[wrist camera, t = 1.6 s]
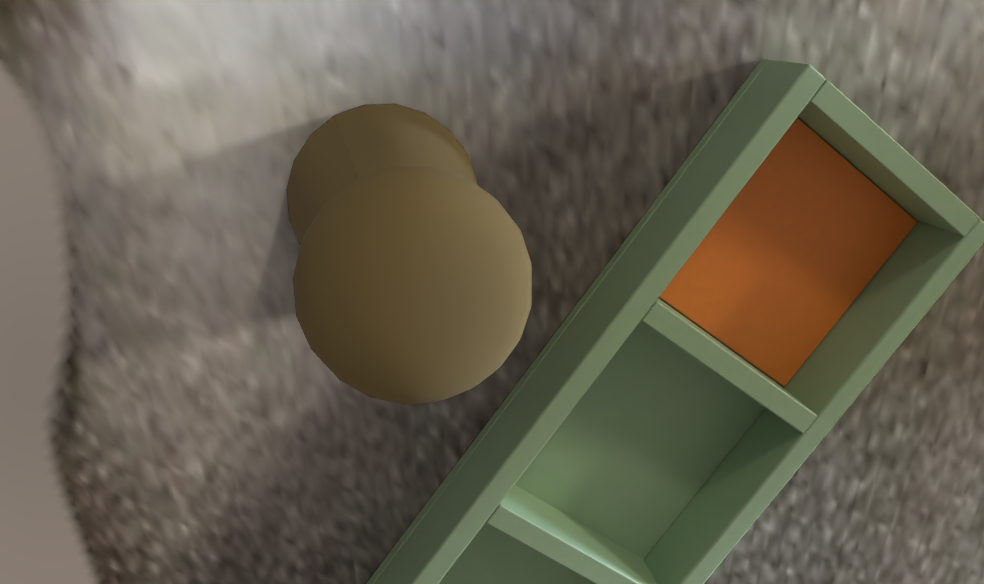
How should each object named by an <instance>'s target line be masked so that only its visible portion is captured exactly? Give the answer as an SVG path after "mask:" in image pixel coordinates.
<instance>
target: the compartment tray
mask: <svg viewBox="0 0 984 584" xmlns="http://www.w3.org/2000/svg"><path fill="white" fill-rule="evenodd" d="M983 244H984V221H983V220H981V219H980V218H979V216H978V215H977V214H975V213H974V212H973V211H972V210H971V209H970V208H969V207H968V206H967V205H965V204H964V203H963V202H962V201H961V200H960V199H959V198H958V197H957V196H956V195H954V194H953V193H952V192H951V191H950V190H949V189H948V188H947V187H946V186H944V185H943V184H942V183H941V182H940V181H939V180H938V179H937V178H936V177H934V176H933V175H932V174H931V173H930V172H929V171H928V170H927V169H926V168H925V167H923V166H922V165H921V164H920V163H919V162H918V161H917V160H916V159H915V158H913V157H912V156H911V155H910V154H909V153H908V152H907V151H906V150H905V149H904V148H902V147H901V146H900V145H899V144H898V143H897V142H896V141H895V140H894V139H892V138H891V137H890V136H889V135H888V134H887V133H886V132H885V131H884V130H882V129H881V128H880V127H879V126H878V125H877V124H876V123H875V122H874V121H873V120H871V119H870V118H869V117H868V116H867V115H866V114H865V113H864V112H863V111H861V110H860V109H859V108H858V107H857V106H856V105H855V104H854V103H853V102H851V101H850V100H849V99H848V98H847V97H846V96H845V95H844V94H843V93H842V92H840V91H839V90H838V89H837V88H836V87H835V86H834V85H833V84H832V83H830V82H829V81H828V80H825V78H824V77H823V76H822V75H821V74H820V73H819V72H818V71H817V70H816V69H814V68H813V67H812V66H811V65H810V64H803V63H795V62H786V61H777V60H769V59H761V61H760V62H759V63H758V65H757V66H756V67H755V69H754V70H753V71H752V73H751V74H750V75H749V77H748V78H747V79H746V81H745V82H744V83H743V85H742V86H741V87H740V89H739V90H738V91H737V93H736V94H735V95H734V97H733V98H732V99H731V101H730V102H729V103H728V105H727V106H726V107H725V108H724V110H723V111H722V112H721V114H720V115H719V116H718V118H717V119H716V120H715V122H714V123H713V124H712V126H711V127H710V128H709V130H708V131H707V132H706V134H705V135H704V136H703V138H702V139H701V140H700V142H699V143H698V144H697V146H696V147H695V148H694V150H693V151H692V152H691V154H690V155H689V156H688V158H687V159H686V160H685V162H684V163H683V164H682V165H681V167H680V168H679V169H678V171H677V172H676V173H675V175H674V176H673V177H672V179H671V180H670V181H669V183H668V184H667V185H666V187H665V188H664V189H663V191H662V192H661V193H660V195H659V196H658V197H657V199H656V200H655V201H654V203H653V204H652V205H651V207H650V208H649V209H648V211H647V212H646V213H645V215H644V216H643V217H642V219H641V220H640V221H639V222H638V224H637V225H636V226H635V228H634V229H633V230H632V232H631V233H630V234H629V236H628V237H627V238H626V240H625V241H624V242H623V244H622V245H621V246H620V248H619V249H618V250H617V252H616V253H615V254H614V256H613V257H612V258H611V260H610V261H609V262H608V264H607V265H606V266H605V268H604V269H603V270H602V272H601V273H600V274H599V276H598V277H597V278H596V279H595V281H594V282H593V283H592V285H591V286H590V287H589V289H588V290H587V291H586V293H585V294H584V295H583V297H582V298H581V299H580V301H579V302H578V303H577V305H576V306H575V307H574V309H573V310H572V311H571V313H570V314H569V315H568V317H567V318H566V319H565V321H564V322H563V323H562V325H561V326H560V327H559V329H558V330H557V331H556V332H555V334H554V335H553V336H552V338H551V339H550V340H549V342H548V343H547V344H546V346H545V347H544V348H543V350H542V351H541V352H540V354H539V355H538V356H537V358H536V359H535V360H534V362H533V363H532V364H531V366H530V367H529V368H528V370H527V371H526V372H525V374H524V375H523V376H522V378H521V379H520V380H519V382H518V383H517V384H516V386H515V387H514V388H513V389H512V391H511V392H510V393H509V395H508V396H507V397H506V399H505V400H504V401H503V403H502V404H501V405H500V407H499V408H498V409H497V411H496V412H495V413H494V415H493V416H492V417H491V419H490V420H489V421H488V423H487V424H486V425H485V427H484V428H483V429H482V431H481V432H480V433H479V435H478V436H477V437H476V439H475V440H474V441H473V443H472V444H471V445H470V446H469V448H468V449H467V450H466V452H465V453H464V454H463V456H462V457H461V458H460V460H459V461H458V462H457V464H456V465H455V466H454V468H453V469H452V470H451V472H450V473H449V474H448V476H447V477H446V478H445V480H444V481H443V482H442V484H441V485H440V486H439V488H438V489H437V490H436V492H435V493H434V494H433V496H432V497H431V498H430V499H429V501H428V502H427V503H426V505H425V506H424V507H423V509H422V510H421V511H420V513H419V514H418V515H417V517H416V518H415V519H414V521H413V522H412V523H411V525H410V526H409V527H408V529H407V530H406V531H405V533H404V534H403V535H402V537H401V538H400V539H399V541H398V542H397V543H396V545H395V546H394V547H393V549H392V550H391V551H390V553H389V554H388V555H387V556H386V558H385V559H384V560H383V562H382V563H381V564H380V566H379V567H378V568H377V570H376V571H375V572H374V574H373V575H372V576H371V578H370V579H369V580H368V582H367V583H366V584H704V582H705V581H706V580H707V579H708V578H709V576H710V575H711V574H712V573H713V572H714V570H715V569H716V568H717V567H718V565H719V564H720V563H721V562H722V561H723V559H724V558H725V557H726V556H727V555H728V553H729V552H730V551H731V550H732V548H733V547H734V546H735V545H736V544H737V542H738V541H739V540H740V539H741V538H742V536H743V535H744V534H745V533H746V532H747V530H748V529H749V528H750V527H751V525H752V524H753V523H754V522H755V521H756V519H757V518H758V517H759V516H760V515H761V513H762V512H763V511H764V510H765V508H766V507H767V506H768V505H769V504H770V502H771V501H772V500H773V499H774V498H775V496H776V495H777V494H778V493H779V491H780V490H781V489H782V488H783V487H784V485H785V484H786V483H787V482H788V481H789V479H790V478H791V477H792V476H793V474H794V473H795V472H796V471H797V470H798V468H799V467H800V466H801V465H802V464H803V462H804V461H805V460H806V459H807V457H808V456H809V455H810V454H811V453H812V451H813V450H814V449H815V448H816V447H817V445H818V444H819V443H820V442H821V441H822V439H823V438H824V437H825V436H826V434H827V433H828V432H829V431H830V430H831V428H832V427H833V426H834V425H835V424H836V422H837V421H838V420H839V419H840V417H841V416H842V415H843V414H844V413H845V411H846V410H847V409H848V408H849V407H850V405H851V404H852V403H853V402H854V400H855V399H856V398H857V397H858V396H859V394H860V393H861V392H862V391H863V390H864V388H865V387H866V386H867V385H868V383H869V382H870V381H871V380H872V379H873V377H874V376H875V375H876V374H877V373H878V371H879V370H880V369H881V368H882V366H883V365H884V364H885V363H886V362H887V360H888V359H889V358H890V357H891V356H892V354H893V353H894V352H895V351H896V349H897V348H898V347H899V346H900V345H901V343H902V342H903V341H904V340H905V339H906V337H907V336H908V335H909V334H910V333H911V331H912V330H913V329H914V328H915V326H916V325H917V324H918V323H919V322H920V320H921V319H922V318H923V317H924V316H925V314H926V313H927V312H928V311H929V309H930V308H931V307H932V306H933V305H934V303H935V302H936V301H937V300H938V299H939V297H940V296H941V295H942V294H943V292H944V291H945V290H946V289H947V288H948V286H949V285H950V284H951V283H952V282H953V280H954V279H955V278H956V277H957V275H958V274H959V273H960V272H961V271H962V269H963V268H964V267H965V266H966V265H967V263H968V262H969V261H970V260H971V258H972V257H973V256H974V255H975V254H976V252H977V251H978V250H979V249H980V248H981V246H982V245H983Z"/></svg>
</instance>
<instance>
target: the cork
mask: <svg viewBox="0 0 984 584" xmlns="http://www.w3.org/2000/svg"><path fill="white" fill-rule="evenodd" d="M287 200H288V212H289V221H290V223H291V225H292V228H293V230H294V232H295V235H296V237H297V239H298V242H299V244H300V246H301V247H300V251H299V255H298V259H297V262H296V266H295V270H294V276H293V283H294V295H295V307H296V316H297V318H298V321H299V323H300V325H301V327H302V330H303V332H304V334H305V336H306V339H307V341H308V343H309V345H310V348H311V349H312V350H313V352H314V353H315V354H316V355H317V356H318V357H319V358H320V359H321V360H322V361H323V363H324V364H325V365H326V366H327V367H328V368H329V369H330V370H331V371H332V372H333V373H334V374H335V375H336V377H337V378H338V379H339V380H340V381H342V382H344V383H346V384H348V385H349V386H351V387H353V388H355V389H357V390H358V391H360V392H362V393H364V394H366V395H367V396H369V397H372V398H377V399H382V400H387V401H391V402H396V403H401V404H414V403H425V402H436V401H442V400H444V399H447V398H450V397H452V396H455V395H457V394H460V393H462V392H465V391H467V390H470V389H473V388H474V387H475V386H477V385H478V384H479V383H481V382H482V381H483V380H484V379H486V378H487V377H488V376H490V375H491V374H492V373H493V372H495V371H496V370H497V369H499V368H500V367H501V366H502V364H503V363H504V362H505V360H506V359H507V357H508V356H509V355H510V353H511V352H512V350H513V349H514V348H515V346H516V345H517V343H518V342H519V341H520V339H521V337H522V334H523V331H524V327H525V324H526V321H527V318H528V315H529V312H530V309H531V306H532V263H531V260H530V257H529V254H528V251H527V248H526V245H525V242H524V239H523V236H522V233H521V230H520V229H519V228H518V226H517V225H516V224H515V222H514V221H513V220H512V218H511V217H510V216H509V214H508V213H507V212H506V211H505V209H504V208H503V207H502V205H501V204H500V203H499V201H498V200H497V199H495V198H494V197H493V196H492V195H490V194H489V193H488V192H486V191H485V190H483V189H482V188H480V187H479V186H478V184H477V180H476V177H475V174H474V171H473V168H472V165H471V162H470V159H469V157H468V154H467V152H466V151H465V150H464V148H463V147H462V146H461V144H460V143H459V142H458V140H457V139H456V138H455V136H454V135H453V134H452V132H451V131H450V130H449V129H448V128H446V127H445V126H443V125H442V124H440V123H439V122H438V121H436V120H435V119H433V118H432V117H430V116H429V115H427V114H426V113H424V112H421V111H418V110H414V109H411V108H407V107H404V106H401V105H397V104H373V105H362V106H359V107H357V108H354V109H351V110H348V111H346V112H343V113H340V114H337V115H335V116H333V117H332V118H331V119H330V120H328V121H327V122H326V123H325V124H323V125H322V126H321V127H320V128H318V129H317V130H316V131H315V132H313V133H312V134H311V135H310V136H309V138H308V140H307V141H306V143H305V144H304V146H303V147H302V149H301V150H300V152H299V153H298V155H297V157H296V158H295V160H294V162H293V166H292V170H291V174H290V178H289V182H288V186H287Z"/></svg>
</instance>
